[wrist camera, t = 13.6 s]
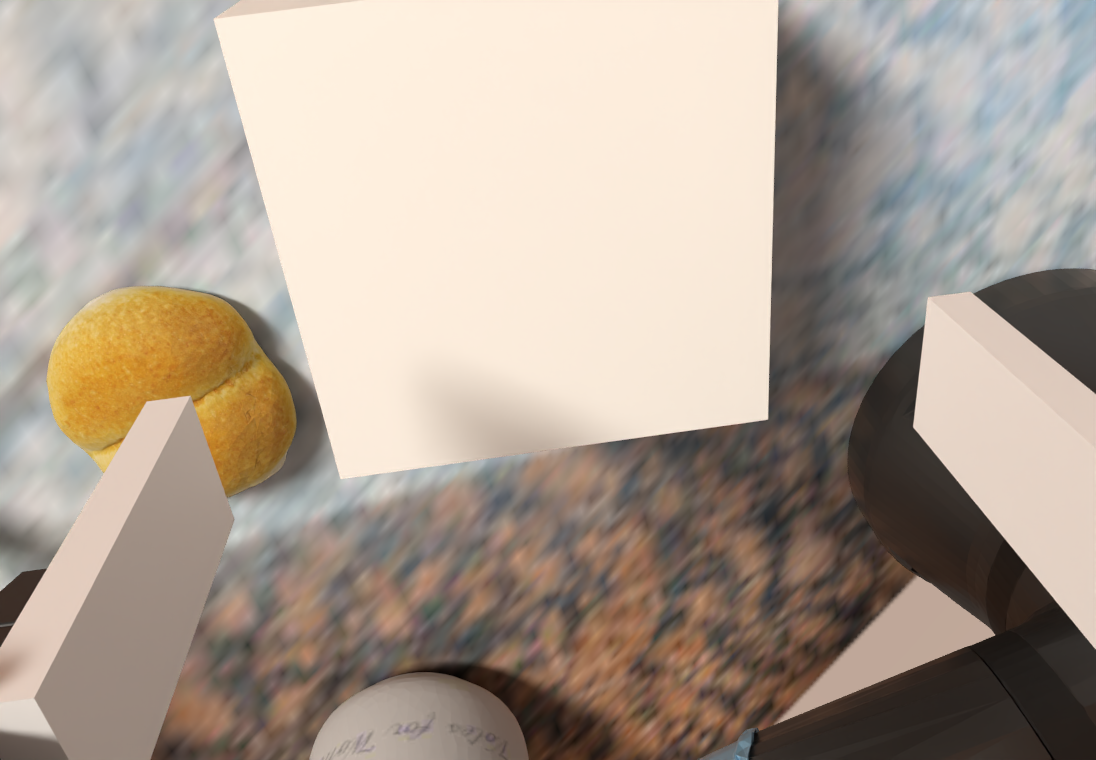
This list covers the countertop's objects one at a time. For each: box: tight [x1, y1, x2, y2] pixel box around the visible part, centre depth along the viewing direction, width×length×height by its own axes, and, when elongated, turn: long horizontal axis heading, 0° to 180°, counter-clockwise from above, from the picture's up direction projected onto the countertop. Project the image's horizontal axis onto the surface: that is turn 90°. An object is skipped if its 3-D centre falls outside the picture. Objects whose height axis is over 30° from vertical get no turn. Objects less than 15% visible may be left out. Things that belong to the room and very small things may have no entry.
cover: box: [214, 0, 778, 479], centre depth 26 cm, size 12×12×10 cm
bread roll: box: [46, 286, 297, 497], centre depth 33 cm, size 8×9×4 cm
